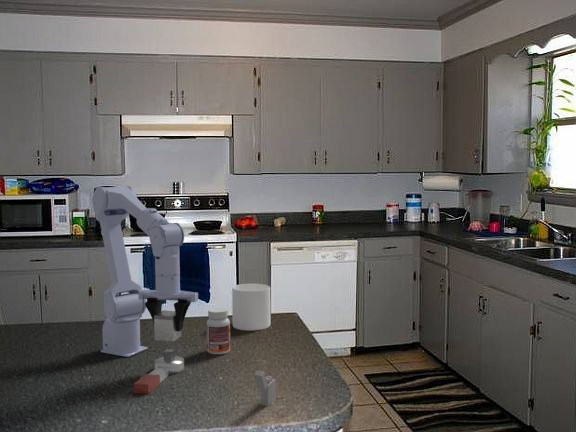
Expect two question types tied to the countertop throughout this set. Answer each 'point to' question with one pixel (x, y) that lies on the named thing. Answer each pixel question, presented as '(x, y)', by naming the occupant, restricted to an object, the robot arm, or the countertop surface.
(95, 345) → the countertop surface
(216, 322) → the pill bottle
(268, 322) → the white cylinder
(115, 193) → the robot arm
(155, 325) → the grey block
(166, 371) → the ratchet
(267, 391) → the lighter
